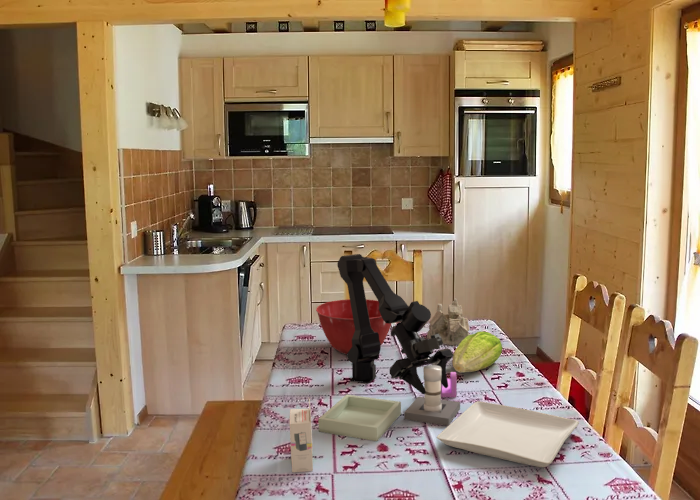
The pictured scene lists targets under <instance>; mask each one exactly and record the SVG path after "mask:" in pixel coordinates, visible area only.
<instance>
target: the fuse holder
mask: <svg viewBox="0 0 700 500" xmlns="http://www.w3.org/2000/svg"><path fill="white" fill-rule="evenodd" d="M441 403H442V411H441V413H439V412H432V411H425V410H424V397H423V396H417V397H416V399H415V400H413V402H412V403H411V404H410V406H408V407H407V408H406V410H405V411H404V419H403V420H407V421H414V422H420V423H425V424H426V423H427V424H433V425H439V426H446V427H448V426H449V425H450V424H451V423H452V422H453V421H454V420H455V419H454V418H455V417H456V416H457V414H458V413H459V411H460V410H461V402H460V401H454V400H448V399H447V400H446V399H441Z"/></svg>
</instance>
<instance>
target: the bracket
mask: <svg viewBox="0 0 700 500" xmlns="http://www.w3.org/2000/svg"><path fill="white" fill-rule="evenodd" d="M449 374H450V378H448V377H447V381H448V387H447V388H445V387H444V386H443V385H442V384H441V398H457V395H458V394H457V393H458V392H457V389H458V388H457V386H458V385H457V382H458V381H457V371H451V372H450V373H449Z"/></svg>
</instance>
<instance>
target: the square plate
mask: <svg viewBox="0 0 700 500" xmlns="http://www.w3.org/2000/svg"><path fill="white" fill-rule="evenodd" d="M579 424H580V421H578V420H576V419H571V418H566V417H562V416H557V415H553V414H548V413H544V412H539V411H536V410H531V409H527V408H526V409H524V408H520V407H514V406H510V405H509V406H508V405H503V404H499V403H498V404H497V403H493V402H485V401H475V402H473V404H472V405H471V406H469V407H468V408H466V410H465V411H463V412H462V413H461V414H460V415H458V417H456V419H454V420H452V422H451V423H450V425H449V426H446V428H444V429H443V430H442V431H441V432H440V433H439V434H438V435H437V436H436V439H438V440H439V441H440V442H441V443H442V444H444V445H447V446H449V447H453V448H457V449H460V450H461V449H462V450H464V451H468V452H470V453H475V454H479V455H483V456H488V457H492V458H495V459H501V460H505V461H508V462H513V463H516V464H517V463H518V464H520V465H529V466H532V467H537V468H546V467H548V466H550V464H552V462H554V459H556V456H557V455H558V453H559V451H560V450H561V448H562V446H563V444H564V443H565V442H566V440H567V439H568V438H569V437H570V436H571V434H573V432H574V430H576V428H577V427H578V426H579Z"/></svg>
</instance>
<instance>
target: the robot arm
mask: <svg viewBox="0 0 700 500" xmlns="http://www.w3.org/2000/svg"><path fill="white" fill-rule="evenodd" d="M336 265H337V268H338V271H339V275H340V277H341V279H342V280H343V281H344V282H345V284H346V285H347V290H348V291H347V292H348V297H349V298H348V299H350V303H351V309H352V315H353V321H354V326H355V332H354V335H353V337H352V348H351V349H350V350H349V352H348V353H347V354H346V358H347V361H348V362H350V363H351V370H352V371H351V372H352V377H351V378H350V382H357V383H364V384H370V383H372V382H373V380H375V379H376V378H377V367H376V366H377V365H376V364H375V361H376V360H379V357H380V353H381V346H382V345H381V343H380V340H379V334H378V332H374V331H373V329H372V328H371V325H370V320H369V314H368V308H367V303H366V299H367V298H366V293H365V285H364V281H366V282H367V284H368V286H369V287H370V289H371V291H372V293H373V294H374V296H375V298H376V300H377V301H379V312H380V314H381V316H382V318H383V320H384V321H385V322H386V323H389V324H390V323H392V324H395V323H396V325H393V326H391V331H390V336H391V337H394V336H395V337H396V339H397V341H398V343H399V344H400V346H401V348H402V349H401V350H400V353H401V355H404V354H405V356H406V357H405V358H400V359H396V360H395V362H394V363H393V364H392V365H391V366H390V367H389V375H390V377H391V378H392V379H397V378H398V379H399V380H403V381H404V382H406V383H407V384H409V385H410V386H411V387H413V388H414V389H415V390H417V391H418V392H419V393H421V394H422V395H424V394H425V393H426V391H425V388H424V383H423V382H422V380H421V377H420V376H419V374H418V369H417V368H420V367H424V366H427V365H437V366H440V367H441V368H442V379H441V384H442V386H444V387H445V388H447V387H448V381H447V378H448V377H447V363H448V362H450V361H451V359H453V356H454V355H453V354H454V352H453V351H452V349H450V348H447V347H446V348H442V349H441V348H440V346H442V345H443V344H444V343H443V341H442V338H441V337H440V335H439V334H435V335H432V336H431V339H428V338H425V337H423V336H422V337H420V335H419V333H420V331H422V329H423V328H424V327H425V325H426V324H427V323H429V321H430V320H431V319H432V313H431V311H430V309H429V308H428V307H427V306H426V305H424V304H421V303H420V302H419V301H418V300H414V301H411V302H410V303H409V305H408V304H407V302H406V301H405V300H404V299H403V297H402V296H401V295H398V294H397V293H394V291H393V290H392V287H390V285H389V283H388V281H387V280H386V278H385V277H384V275H383V273H382V272H381V270H380V268H379V267H378V264H377V260H376V259H375V258H372V257H368V256H363V255H362V254H360V253H355V254H348V255H347V254H346V255H340V257H339V259H338V260H337V264H336ZM380 345H381V346H380ZM434 350H437V351H436V352H435V353H434ZM433 353H434V354H433ZM432 354H433V355H432ZM431 355H432V356H431Z"/></svg>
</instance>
